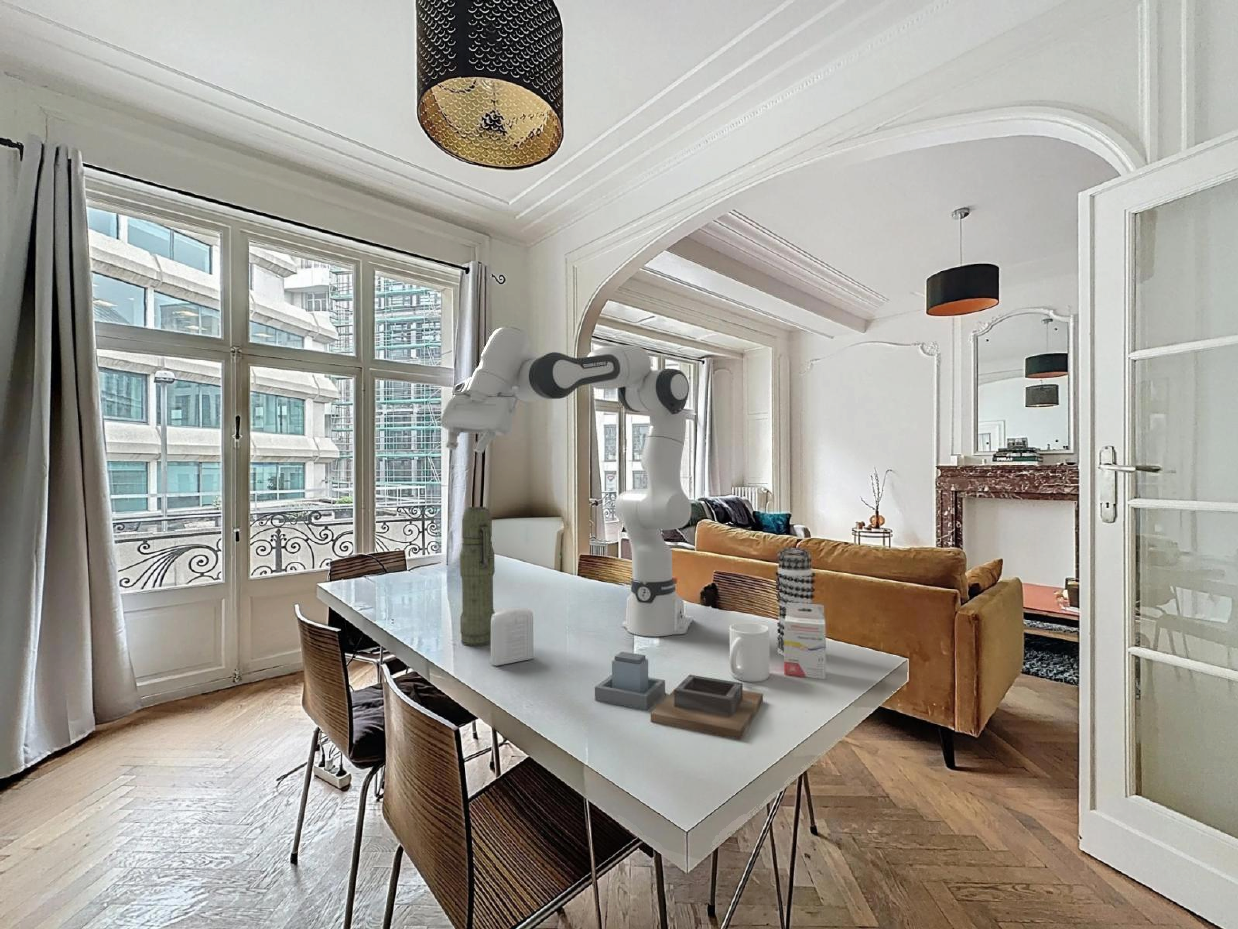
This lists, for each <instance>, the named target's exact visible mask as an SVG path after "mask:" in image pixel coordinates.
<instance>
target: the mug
mask: <svg viewBox="0 0 1238 929" xmlns="http://www.w3.org/2000/svg"><path fill="white" fill-rule="evenodd" d="M770 669H771V667H770V629H769V627H768V626H767V625H765V624H761V623H756V622H736V623H733V624H730V625H729V671H730V674H731V676H732V677H733V678H734V679H736V680H738V681H742V682H748V683H760V682H763V681H766V680H767V679H768V678H769V677H770V671H771V670H770Z"/></svg>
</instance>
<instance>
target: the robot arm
mask: <svg viewBox="0 0 1238 929" xmlns="http://www.w3.org/2000/svg"><path fill="white" fill-rule="evenodd" d="M651 362H652V361H651V357H650V355H649V353H648V352H647V350H645V349H644V348H642V347H641V346H637V345H629V344H616V345H608V346H604V347H601V348H597V349H595V350H593V351H590V352H588V354H587V356H582V357H572V356H570V355H567V354H564V353H561V352H555V351H554V352H549V353H545V354H544V355H541V356H537V355H536V354H535V351H534V350H533V348H532V346H531V343H530V337H529V335H528V334H527V333H526V332H524V330H522V329H519V328H516V327H511V326H510V327H509V326H503V327H500V328H497V329H495V331H494V332H492V334H491V336H489V339H488V341H487V343H486V345H485V346H484V349H483V350H482V353H481V355H480V361H479V365H478V366H477V367H476V368H475V370H474V371H473V374H472V376H471V377H469V378H467V379H466V380H464V381H462V382H460V383H458V384H456V385H454V387H453V389H452V391H451V393H452V395H453V396H451V397H450V398H449V400H448V402H447V404H446V406H445V409H444V410H443V413H442V416H441V418H440V425H441V427H442V428H444V429H445V430H447V431H448V432H447V435H448V436H447V438H448V440H447V442H446V444H445V447H446V448H447V449H449V450H452V451H456V450H457V447H458V446H459V442H457V441H458V437H460V435H461V433H465V434H466V433H467V434H476V435H477V434H480V435H482V436H481V437H480V439H479V440H478V441H475V442H474V446H473V447H472V450H473V451H474V452H476V453H478V454H479V453H480V454H483V453H484V452H485V450H486V447H487V446H488V445H489V444H490V443H491V441H493V440H494V438H495V436H506V435H508V434H509V432H510V431H511V429H512V426H513V423H514V419H515V416H516V411H517V403H518V401H519V402H520V401H521V402H524V403H532V402H533V403H534V402H540V401H546V400H557V399H564V398H566V397H568V396H570V394H572V393H573V392H574V391H576V389H577V388H580V387H582V386H587V385H591V386H592V387H593V388H594V389H596V390H614V389H617V393H618V394H617V395H618V399H619V402H620V404H621V406H622V407H623V408H624V409H625V410H627V411H630V412H634V413H640V412H648V415H649V416H648V417H649V423H648V427H647V431H646V434H645V438H644V444H643V449H642V454H641V457H640V458H641V459H640V465H641V468H642V470H643V471H644V472H645V473H646V475H647V484H648V485H647V488H632V489H629V490H626V491H622V492H621V493H619V495H618V496H617V498H616V499H615V502H614V513H615V515H616V517H617V519H618V520H619V522H621V523H622V524H621V525H623V527H624V530H625V532H626V535H627V538H628V540H629V545H630V550H631V558H632V559H631V563H632V565H631V566H632V578H631V579H630V592H631V594H630V595H629V596H628V597H627V599H626V613H625V620H624V621H622V623H621V626H622V627H623V628H625V629H626V630H627V632H629V633H630V634H633V635H637V636H643V637H665V636H671V635H683V634H686V633H687V631H688V630H689V628H690V626H691V624H692V622H693V616H691V615H687V614H685V602H684V600H683V599H682V597H680V595H678V593H677V592H676V584H678V578H677V576H673V553H672V552H673V551H672V549H671V547H670V545H668V544H667V543H666V541H665V540H664V538H663V536H662V534H661V532H662V531H671V530H677V529H682V528H683V527H685V526H686V525H688V523H689V522H690V519H691V515H692V504H691V501H690V499H689V497H688V496H687V495H686V494H685V492H684V490H683V488H682V483H681V482H682V481H681V476H680V474H681V464H682V456H683V453H684V452H683V451H684V447H685V440H686V430H687V417H686V416H687V414H686V413H685V410H684V408H685V406H686V405H687V400H688V398H689V394H690V385H689V380H688V378H687V377H686V375H685V373H684V372H683V371H682V370H680V369H676V368H664V369H652V368H651V366H652V363H651ZM661 530H662V531H661ZM690 623H691V624H690ZM688 627H689V628H688Z"/></svg>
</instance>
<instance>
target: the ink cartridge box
mask: <svg viewBox="0 0 1238 929" xmlns="http://www.w3.org/2000/svg"><path fill="white" fill-rule="evenodd" d="M804 607H805V608H807V609H811V610H812V611H811V612H805V611H799V610H798V609H799V608H804ZM826 627H827V626H826V618H825V606H824V605H823V604H815V603H814V604H804V603H790V602H787V603H786V616H785V622H784V656H783V657H784V658H783V660H784V661H783V663H784V665H783V667H784V671H783V672H784V676H795V677H802V678H803V677H804V678H811V679H812V678H813V679H820V680H826V678H827V677H826V676H827V674H826V673H827V672H826V668H827V666H826V665H827V664H826V662H827V656H826V655H827V639H826V638H827V637H826V636H827V634H826V632H827V631H826Z"/></svg>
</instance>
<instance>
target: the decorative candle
mask: <svg viewBox="0 0 1238 929" xmlns="http://www.w3.org/2000/svg"><path fill="white" fill-rule="evenodd" d="M776 556H777V557H778V566H777V572H775V576H776V579H775V583H776V585H775V590H776V591H778V592H777V593H776V598H777V600H776V604H777V605H778V610H779V614H778V622H777V633H778V634H779V635H778V636H777V641H778V642H777V647H778V649H777V652H778V653H777V654H779V655H780V654H781V655H780V656H782V655H783V657H784V622H785V616H786V603H787V602H790V603H804V604H815V603H814V602H813V601H812V600H813V599H815V598H816V596H815V594H813V592H815V591H816V589H815V588H814V587H813V586H812V585H814V584H815V583H816V580H815V579H814V577H815V576H816V573H815V572H813V568H812V557H813V556H812V554H810V553H809V551H808V550H807V549H806V548H802V547H784V548H782V549H781V550H780V551H779V553H777V554H776ZM798 610H799V611H805V612H811V611H812V610H811V609H807V608H805V607H804V608H799V609H798Z"/></svg>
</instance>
